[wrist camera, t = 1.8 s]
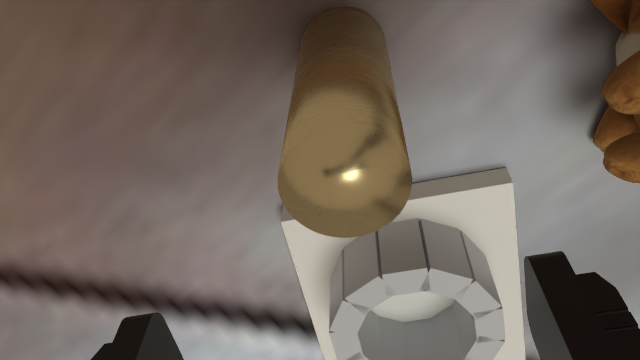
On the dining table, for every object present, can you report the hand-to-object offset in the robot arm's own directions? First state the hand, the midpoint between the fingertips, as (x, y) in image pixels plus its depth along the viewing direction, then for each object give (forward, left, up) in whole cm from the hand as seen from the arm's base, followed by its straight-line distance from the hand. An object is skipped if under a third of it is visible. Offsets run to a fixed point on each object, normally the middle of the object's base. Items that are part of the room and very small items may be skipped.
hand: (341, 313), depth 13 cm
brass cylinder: (0, 0, -18) cm, 18 cm away
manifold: (-1, +19, -18) cm, 26 cm away
